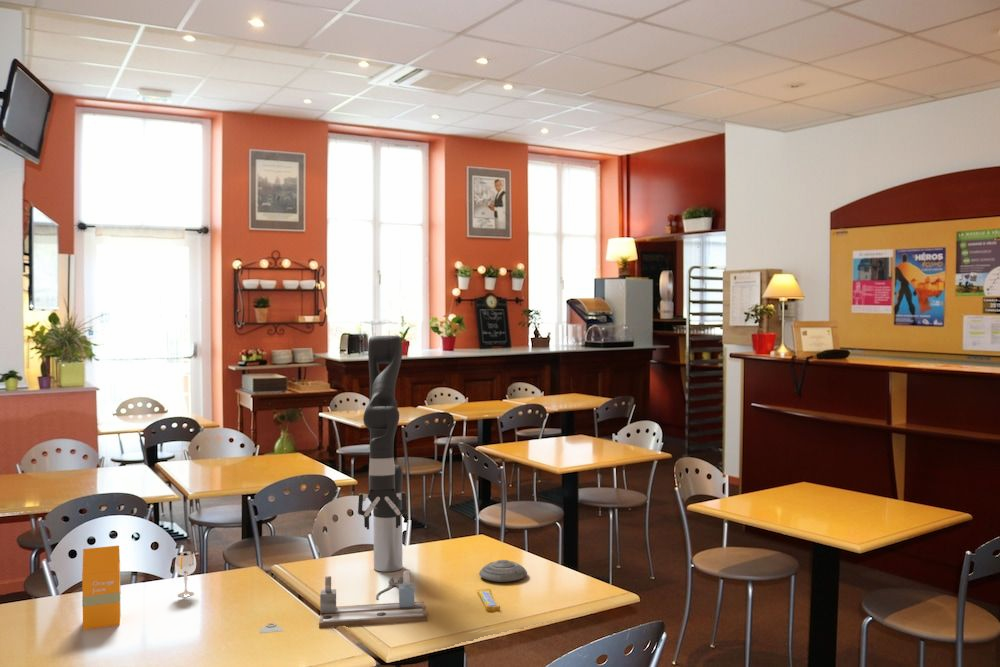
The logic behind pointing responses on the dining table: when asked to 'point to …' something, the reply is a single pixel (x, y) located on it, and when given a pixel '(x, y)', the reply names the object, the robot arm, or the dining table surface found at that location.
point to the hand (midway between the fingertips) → (382, 528)
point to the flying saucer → (503, 571)
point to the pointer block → (406, 592)
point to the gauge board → (365, 611)
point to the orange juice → (101, 587)
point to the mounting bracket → (270, 628)
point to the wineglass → (185, 568)
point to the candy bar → (488, 600)
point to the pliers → (390, 586)
